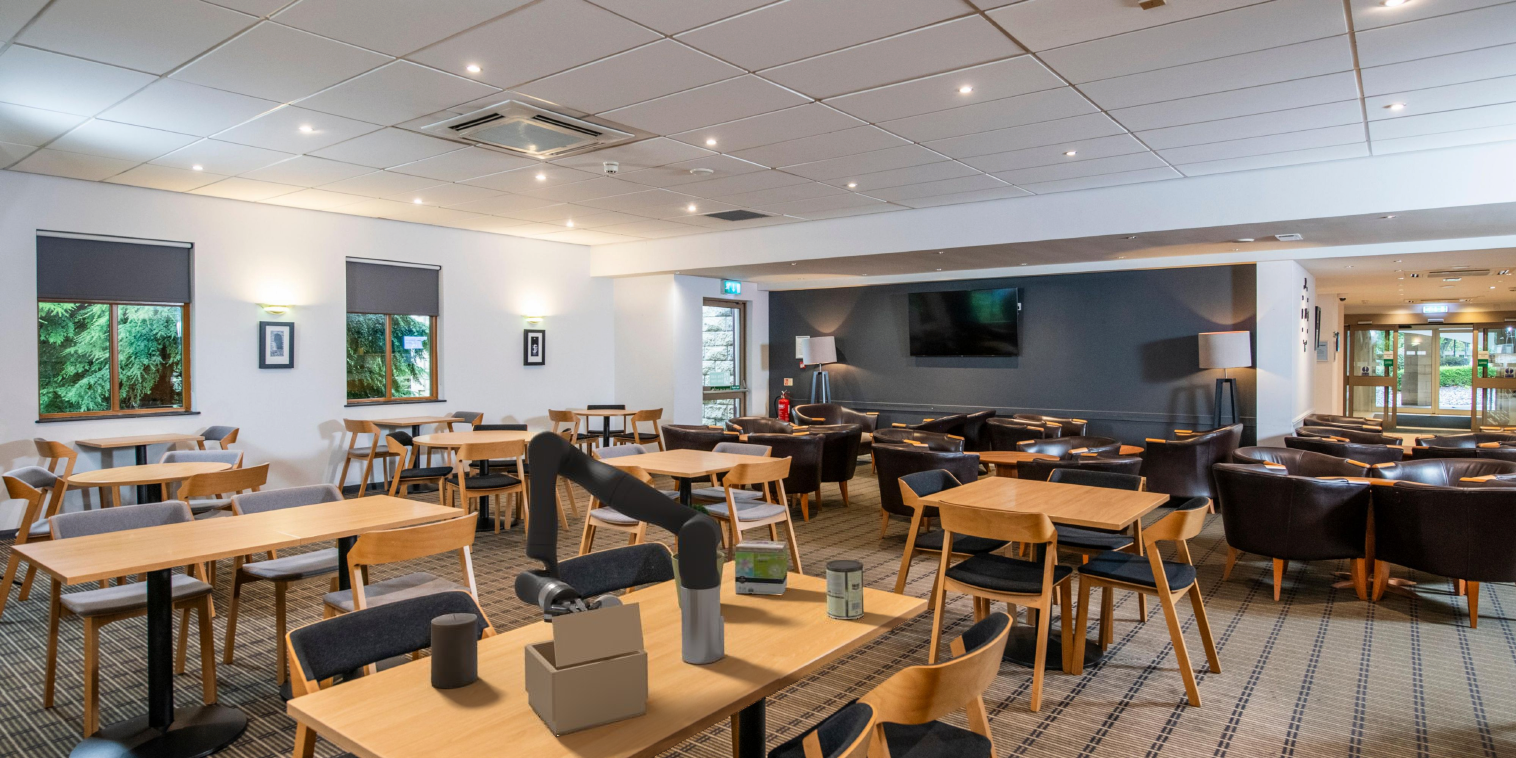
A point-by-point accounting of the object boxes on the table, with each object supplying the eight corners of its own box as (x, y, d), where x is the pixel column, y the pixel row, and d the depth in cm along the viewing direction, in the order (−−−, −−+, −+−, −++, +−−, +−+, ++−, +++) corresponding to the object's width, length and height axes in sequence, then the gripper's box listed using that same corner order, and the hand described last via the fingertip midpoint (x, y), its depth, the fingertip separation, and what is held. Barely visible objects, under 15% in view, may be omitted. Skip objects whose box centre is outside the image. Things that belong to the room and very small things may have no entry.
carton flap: (637, 602, 160) (638, 602, 160) (642, 648, 158) (644, 649, 158) (551, 617, 151) (552, 616, 150) (556, 666, 149) (557, 666, 148)
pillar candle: (450, 692, 171) (450, 621, 171) (421, 683, 176) (421, 614, 176) (487, 677, 179) (487, 610, 179) (458, 669, 184) (458, 604, 184)
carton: (613, 683, 174) (612, 628, 174) (648, 713, 159) (647, 652, 159) (524, 703, 164) (523, 644, 164) (552, 737, 148) (551, 672, 148)
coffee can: (836, 607, 229) (836, 557, 229) (870, 612, 224) (869, 561, 224) (819, 616, 221) (819, 565, 221) (853, 622, 215) (853, 569, 215)
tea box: (734, 594, 244) (734, 546, 244) (740, 586, 254) (740, 539, 254) (783, 596, 242) (783, 547, 242) (787, 587, 252) (787, 540, 252)
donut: (592, 639, 204) (592, 599, 204) (586, 635, 207) (585, 597, 207) (627, 630, 211) (626, 592, 211) (620, 627, 213) (620, 590, 213)
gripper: (529, 588, 171) (554, 608, 156) (589, 579, 178) (619, 597, 163) (530, 624, 171) (555, 646, 156) (589, 613, 178) (619, 634, 163)
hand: (587, 621), depth 159 cm, fingers closed
